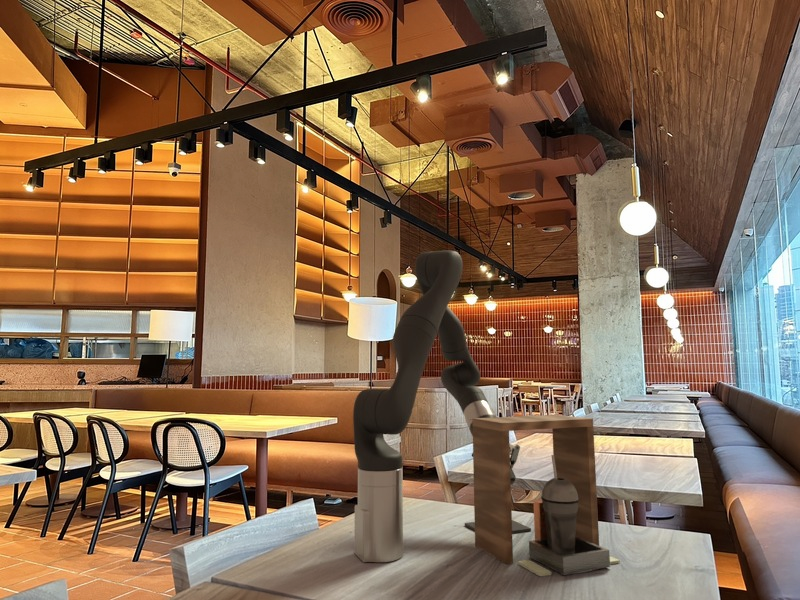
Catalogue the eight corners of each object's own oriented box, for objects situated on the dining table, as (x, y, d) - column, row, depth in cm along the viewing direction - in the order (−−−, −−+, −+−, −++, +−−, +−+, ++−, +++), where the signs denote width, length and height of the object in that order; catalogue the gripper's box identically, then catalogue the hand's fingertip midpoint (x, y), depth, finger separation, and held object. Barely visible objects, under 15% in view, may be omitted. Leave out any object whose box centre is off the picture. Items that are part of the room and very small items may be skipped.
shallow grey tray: (563, 574, 100) (561, 517, 101) (523, 553, 111) (521, 502, 112) (610, 566, 103) (607, 511, 105) (566, 547, 115) (564, 497, 116)
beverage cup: (585, 566, 105) (582, 458, 107) (547, 566, 105) (544, 458, 107) (575, 553, 112) (572, 452, 114) (539, 552, 112) (536, 452, 114)
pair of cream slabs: (540, 576, 100) (540, 573, 100) (518, 564, 106) (518, 561, 106) (619, 562, 106) (619, 560, 106) (594, 552, 113) (594, 549, 113)
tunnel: (506, 563, 106) (501, 423, 110) (475, 545, 117) (472, 418, 121) (599, 549, 115) (592, 418, 118) (562, 533, 126) (557, 414, 129)
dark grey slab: (486, 537, 123) (486, 534, 124) (464, 525, 133) (464, 523, 133) (531, 531, 128) (531, 528, 128) (507, 520, 137) (507, 517, 137)
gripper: (464, 414, 134) (491, 474, 121) (511, 412, 139) (542, 470, 126) (454, 434, 138) (480, 494, 125) (500, 431, 143) (529, 490, 130)
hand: (511, 482), depth 126 cm, fingers closed
